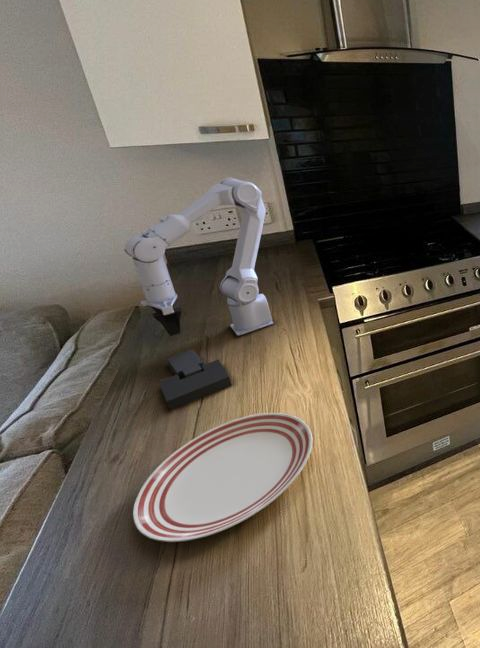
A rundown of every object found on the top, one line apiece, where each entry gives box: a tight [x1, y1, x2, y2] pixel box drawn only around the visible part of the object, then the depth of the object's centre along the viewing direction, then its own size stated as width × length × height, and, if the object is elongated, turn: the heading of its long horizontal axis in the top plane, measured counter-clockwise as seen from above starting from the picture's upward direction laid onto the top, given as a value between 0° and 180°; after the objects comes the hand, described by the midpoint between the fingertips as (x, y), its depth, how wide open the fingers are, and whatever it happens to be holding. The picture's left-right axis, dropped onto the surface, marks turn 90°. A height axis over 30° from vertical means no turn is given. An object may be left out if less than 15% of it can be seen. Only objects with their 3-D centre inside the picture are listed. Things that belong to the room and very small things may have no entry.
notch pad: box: [158, 359, 233, 411], centre depth 105 cm, size 12×10×2 cm
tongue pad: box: [166, 348, 204, 380], centre depth 111 cm, size 5×12×3 cm, turn 51°
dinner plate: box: [132, 412, 314, 543], centre depth 81 cm, size 28×27×3 cm
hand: (172, 328), depth 114 cm, fingers open, 7 cm apart
